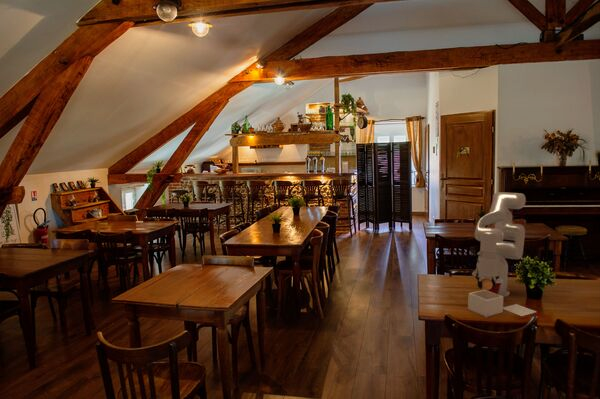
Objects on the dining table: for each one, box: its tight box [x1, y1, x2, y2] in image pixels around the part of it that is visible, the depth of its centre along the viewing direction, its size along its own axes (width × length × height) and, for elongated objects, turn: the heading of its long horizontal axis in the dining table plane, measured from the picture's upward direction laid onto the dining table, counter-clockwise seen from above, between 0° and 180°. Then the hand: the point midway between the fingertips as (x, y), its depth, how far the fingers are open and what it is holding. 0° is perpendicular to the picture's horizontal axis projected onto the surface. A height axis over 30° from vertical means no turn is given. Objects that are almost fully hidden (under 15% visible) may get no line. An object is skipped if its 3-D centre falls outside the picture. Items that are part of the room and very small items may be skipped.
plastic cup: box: [482, 277, 503, 294], centre depth 244 cm, size 11×11×12 cm
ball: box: [481, 278, 493, 290], centre depth 225 cm, size 6×6×6 cm
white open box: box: [467, 289, 505, 318], centre depth 226 cm, size 12×12×9 cm
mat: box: [503, 303, 537, 317], centre depth 227 cm, size 12×12×1 cm
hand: (486, 287), depth 225 cm, fingers closed on ball, 5 cm apart
